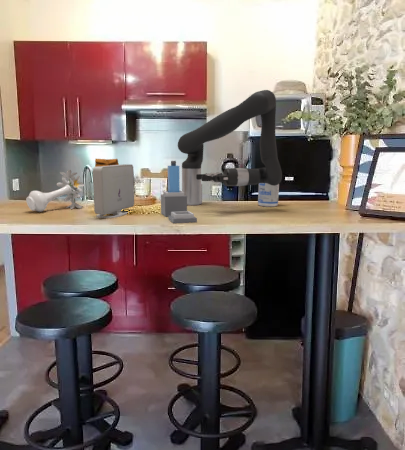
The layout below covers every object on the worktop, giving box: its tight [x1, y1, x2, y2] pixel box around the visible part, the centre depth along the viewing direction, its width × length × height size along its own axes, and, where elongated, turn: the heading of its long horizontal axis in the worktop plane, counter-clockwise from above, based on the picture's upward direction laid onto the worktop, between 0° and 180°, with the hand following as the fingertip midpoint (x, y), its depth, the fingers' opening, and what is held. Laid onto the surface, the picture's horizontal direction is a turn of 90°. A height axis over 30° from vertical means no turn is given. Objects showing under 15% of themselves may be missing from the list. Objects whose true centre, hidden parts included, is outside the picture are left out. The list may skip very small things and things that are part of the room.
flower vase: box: [25, 169, 85, 213], centre depth 189 cm, size 13×18×25 cm
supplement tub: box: [257, 183, 280, 208], centre depth 204 cm, size 10×10×15 cm
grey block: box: [160, 190, 188, 218], centre depth 177 cm, size 9×9×10 cm
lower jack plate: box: [167, 210, 198, 224], centre depth 163 cm, size 9×9×3 cm
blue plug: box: [167, 160, 181, 193], centre depth 175 cm, size 4×4×14 cm
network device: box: [92, 163, 135, 219], centre depth 176 cm, size 26×9×20 cm, turn 161°
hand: (199, 177), depth 178 cm, fingers open, 8 cm apart
